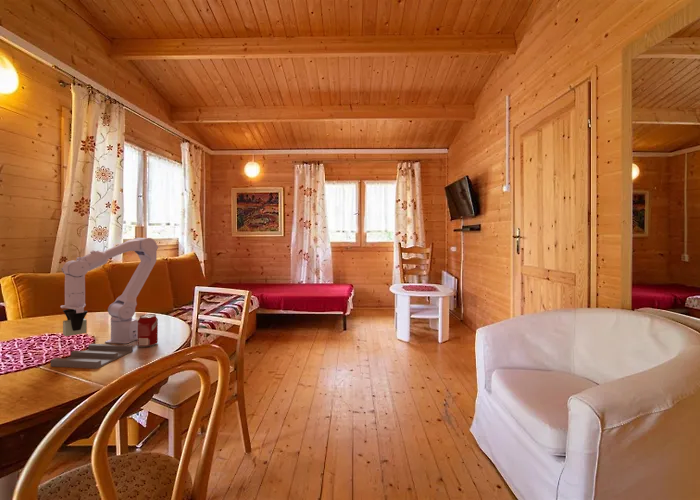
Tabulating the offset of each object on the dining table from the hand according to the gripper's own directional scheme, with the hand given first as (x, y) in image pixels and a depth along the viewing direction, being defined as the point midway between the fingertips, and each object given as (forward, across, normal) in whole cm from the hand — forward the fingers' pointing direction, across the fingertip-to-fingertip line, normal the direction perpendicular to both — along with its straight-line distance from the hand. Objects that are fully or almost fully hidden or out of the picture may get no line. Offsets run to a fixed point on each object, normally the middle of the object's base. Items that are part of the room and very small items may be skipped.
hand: (75, 328), depth 118 cm
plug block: (+2, 0, 0) cm, 2 cm away
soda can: (+9, +12, +20) cm, 25 cm away
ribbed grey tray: (+8, +13, +3) cm, 16 cm away
